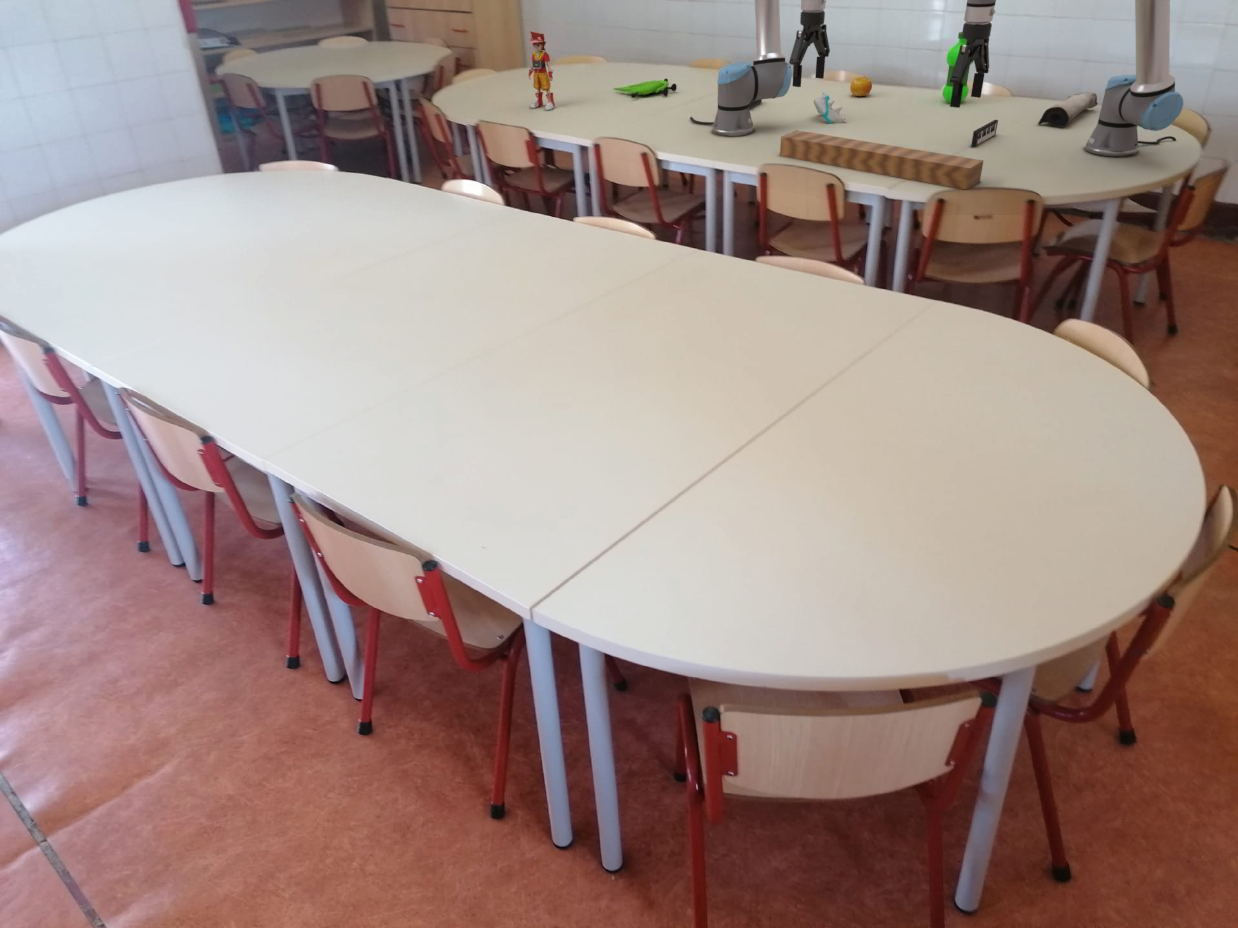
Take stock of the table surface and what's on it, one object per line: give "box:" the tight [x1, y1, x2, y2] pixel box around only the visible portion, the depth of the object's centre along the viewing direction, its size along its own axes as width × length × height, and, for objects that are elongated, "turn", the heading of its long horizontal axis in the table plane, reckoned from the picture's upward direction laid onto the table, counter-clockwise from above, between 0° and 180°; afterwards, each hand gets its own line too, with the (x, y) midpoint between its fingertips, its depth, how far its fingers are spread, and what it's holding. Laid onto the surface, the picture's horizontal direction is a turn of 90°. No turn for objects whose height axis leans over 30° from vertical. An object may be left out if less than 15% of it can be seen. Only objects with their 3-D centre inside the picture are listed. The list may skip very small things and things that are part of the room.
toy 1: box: [527, 31, 556, 111], centre depth 374 cm, size 12×9×30 cm
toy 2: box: [612, 78, 677, 99], centre depth 396 cm, size 28×5×30 cm
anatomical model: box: [813, 92, 847, 124], centre depth 342 cm, size 15×10×10 cm
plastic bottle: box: [942, 31, 974, 104], centre depth 348 cm, size 10×10×25 cm
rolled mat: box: [1037, 91, 1098, 128], centre depth 327 cm, size 30×9×10 cm
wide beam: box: [779, 129, 985, 190], centre depth 290 cm, size 67×9×6 cm, turn 47°
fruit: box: [849, 76, 873, 97], centre depth 369 cm, size 8×8×8 cm
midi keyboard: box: [970, 119, 999, 148], centre depth 308 cm, size 18×1×5 cm, turn 138°
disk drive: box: [749, 99, 763, 110], centre depth 366 cm, size 10×3×15 cm
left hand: (808, 82), depth 294 cm, fingers open, 13 cm apart
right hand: (965, 102), depth 263 cm, fingers open, 13 cm apart
